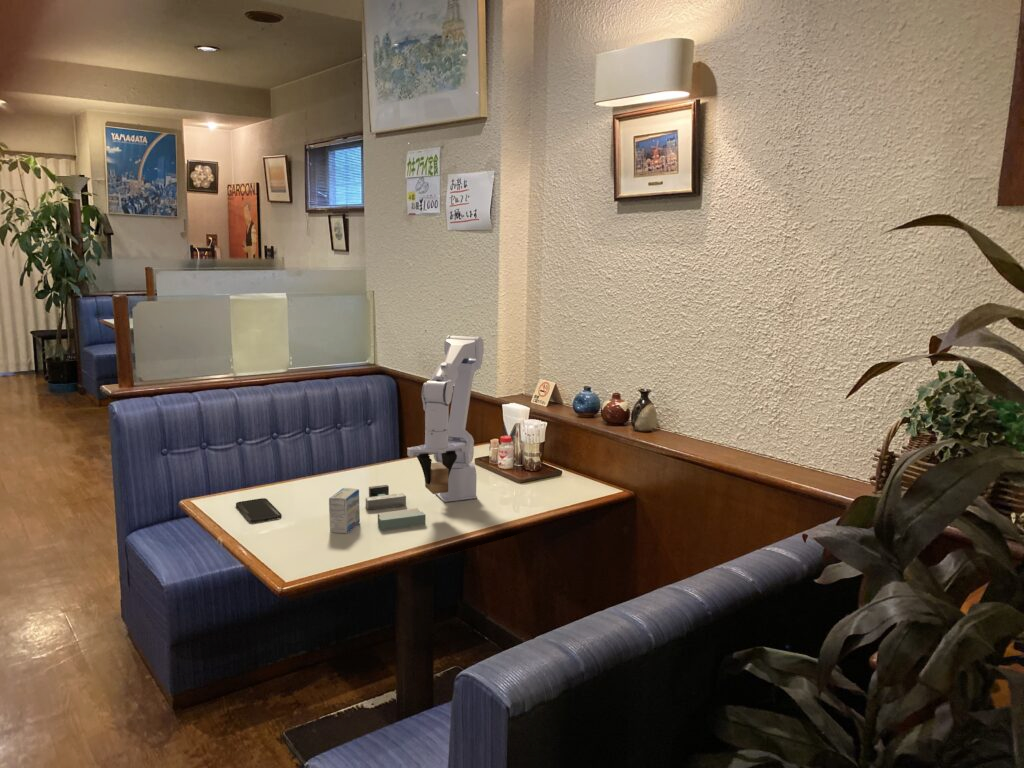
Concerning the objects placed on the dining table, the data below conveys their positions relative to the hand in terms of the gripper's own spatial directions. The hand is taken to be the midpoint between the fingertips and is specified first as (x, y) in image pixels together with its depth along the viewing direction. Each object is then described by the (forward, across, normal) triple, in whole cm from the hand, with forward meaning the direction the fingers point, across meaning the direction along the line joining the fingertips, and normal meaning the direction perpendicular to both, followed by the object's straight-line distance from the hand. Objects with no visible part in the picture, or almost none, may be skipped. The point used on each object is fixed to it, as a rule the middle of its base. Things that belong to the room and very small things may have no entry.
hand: (436, 481), depth 192 cm
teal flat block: (+9, -10, -2) cm, 14 cm away
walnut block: (+2, 0, 0) cm, 2 cm away
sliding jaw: (+9, -10, +14) cm, 19 cm away
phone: (+9, -41, +18) cm, 46 cm away
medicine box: (+9, -23, 0) cm, 25 cm away
